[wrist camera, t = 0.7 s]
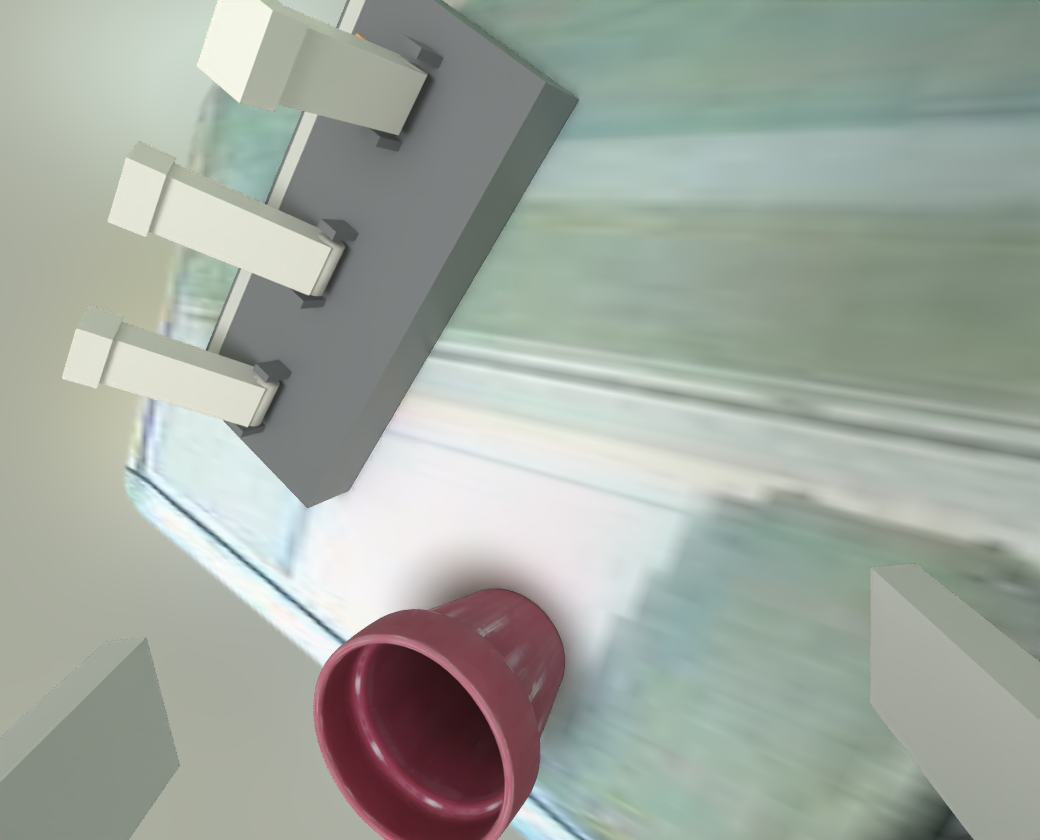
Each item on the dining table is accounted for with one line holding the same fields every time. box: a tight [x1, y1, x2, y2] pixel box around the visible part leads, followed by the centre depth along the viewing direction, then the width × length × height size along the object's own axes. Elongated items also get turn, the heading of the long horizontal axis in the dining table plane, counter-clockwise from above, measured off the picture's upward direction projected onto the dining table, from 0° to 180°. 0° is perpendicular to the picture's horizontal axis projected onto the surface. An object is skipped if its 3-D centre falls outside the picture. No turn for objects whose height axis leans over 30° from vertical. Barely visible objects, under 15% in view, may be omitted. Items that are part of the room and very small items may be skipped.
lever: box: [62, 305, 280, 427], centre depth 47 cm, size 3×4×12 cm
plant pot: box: [313, 589, 565, 840], centre depth 45 cm, size 14×14×13 cm
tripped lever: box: [197, 0, 428, 135], centre depth 35 cm, size 3×4×12 cm
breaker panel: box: [206, 0, 579, 508], centre depth 46 cm, size 14×33×7 cm, turn 145°
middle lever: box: [108, 141, 345, 296], centre depth 42 cm, size 3×4×12 cm
